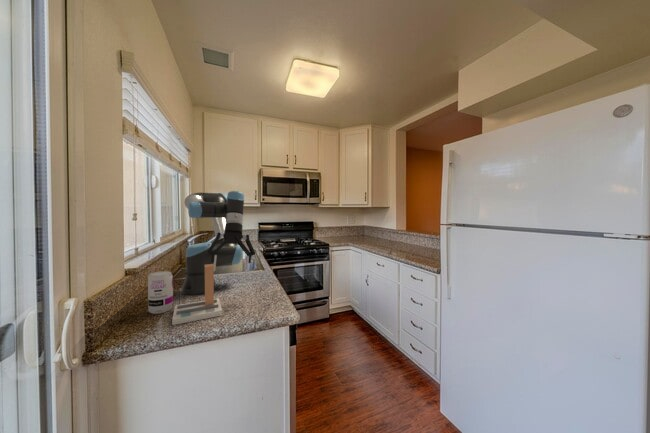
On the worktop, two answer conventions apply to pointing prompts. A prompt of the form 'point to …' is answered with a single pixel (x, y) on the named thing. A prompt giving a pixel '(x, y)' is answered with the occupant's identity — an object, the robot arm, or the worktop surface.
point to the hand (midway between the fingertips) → (230, 271)
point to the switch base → (195, 311)
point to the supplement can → (160, 292)
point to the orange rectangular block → (209, 284)
